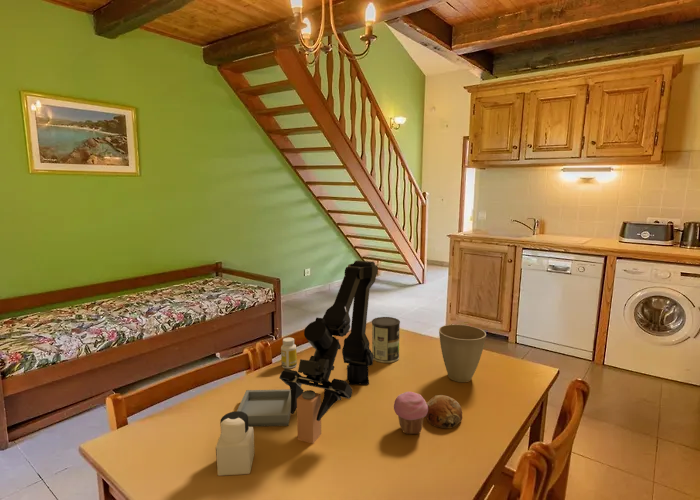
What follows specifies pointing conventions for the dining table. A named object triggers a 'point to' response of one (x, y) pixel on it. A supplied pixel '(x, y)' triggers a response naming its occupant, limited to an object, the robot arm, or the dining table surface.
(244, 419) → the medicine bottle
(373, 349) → the coffee can
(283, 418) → the tray
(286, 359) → the supplement bottle
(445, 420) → the bread roll
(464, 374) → the plant pot
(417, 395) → the cupcake
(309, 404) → the block
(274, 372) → the dining table surface
